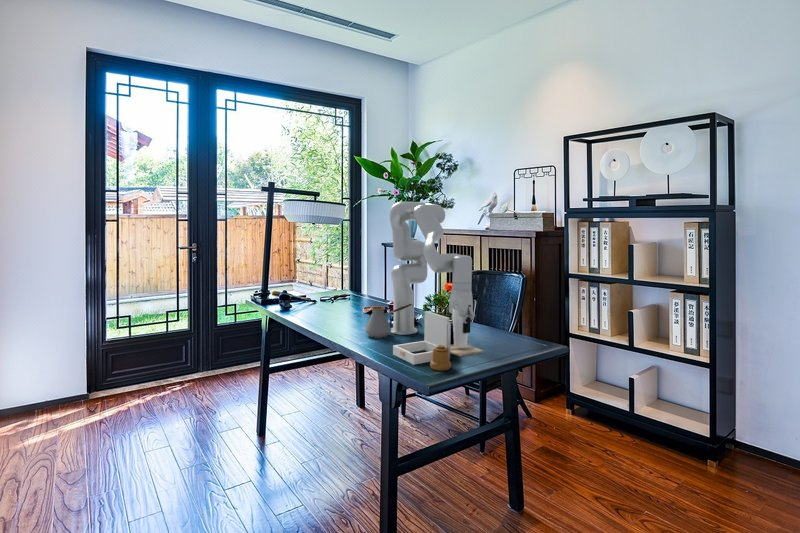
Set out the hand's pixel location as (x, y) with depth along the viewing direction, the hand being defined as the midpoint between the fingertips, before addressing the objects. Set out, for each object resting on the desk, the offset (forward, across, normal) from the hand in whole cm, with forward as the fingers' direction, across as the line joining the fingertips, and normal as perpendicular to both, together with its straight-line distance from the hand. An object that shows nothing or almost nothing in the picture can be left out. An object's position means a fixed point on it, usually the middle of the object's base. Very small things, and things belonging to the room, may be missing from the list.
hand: (460, 330), depth 189 cm
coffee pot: (+8, -34, -14) cm, 38 cm away
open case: (+8, -1, -19) cm, 21 cm away
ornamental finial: (+8, +15, -20) cm, 26 cm away
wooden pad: (+8, 0, 0) cm, 8 cm away
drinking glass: (+6, 0, 0) cm, 6 cm away
